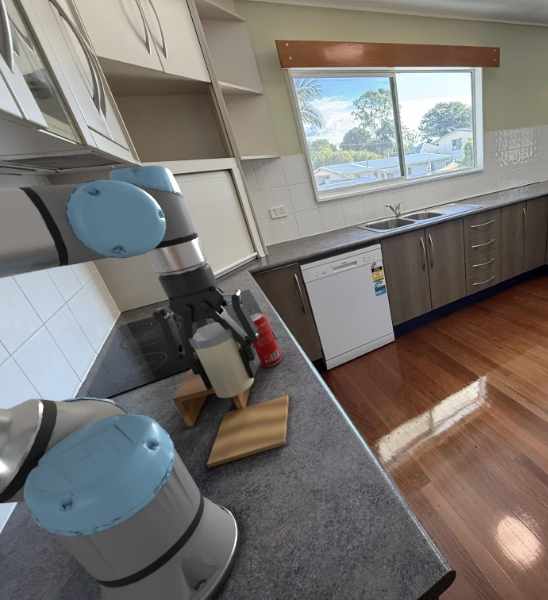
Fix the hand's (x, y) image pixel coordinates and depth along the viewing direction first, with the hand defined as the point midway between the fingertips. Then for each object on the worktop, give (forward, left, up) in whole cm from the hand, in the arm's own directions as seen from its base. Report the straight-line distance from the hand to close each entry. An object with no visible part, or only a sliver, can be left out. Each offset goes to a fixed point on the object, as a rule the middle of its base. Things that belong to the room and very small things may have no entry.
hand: (232, 379), depth 61 cm
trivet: (0, 0, -13) cm, 13 cm away
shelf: (+14, +9, -13) cm, 21 cm away
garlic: (+20, +38, -13) cm, 45 cm away
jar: (0, 0, -2) cm, 2 cm away
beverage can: (+26, -1, -13) cm, 29 cm away
